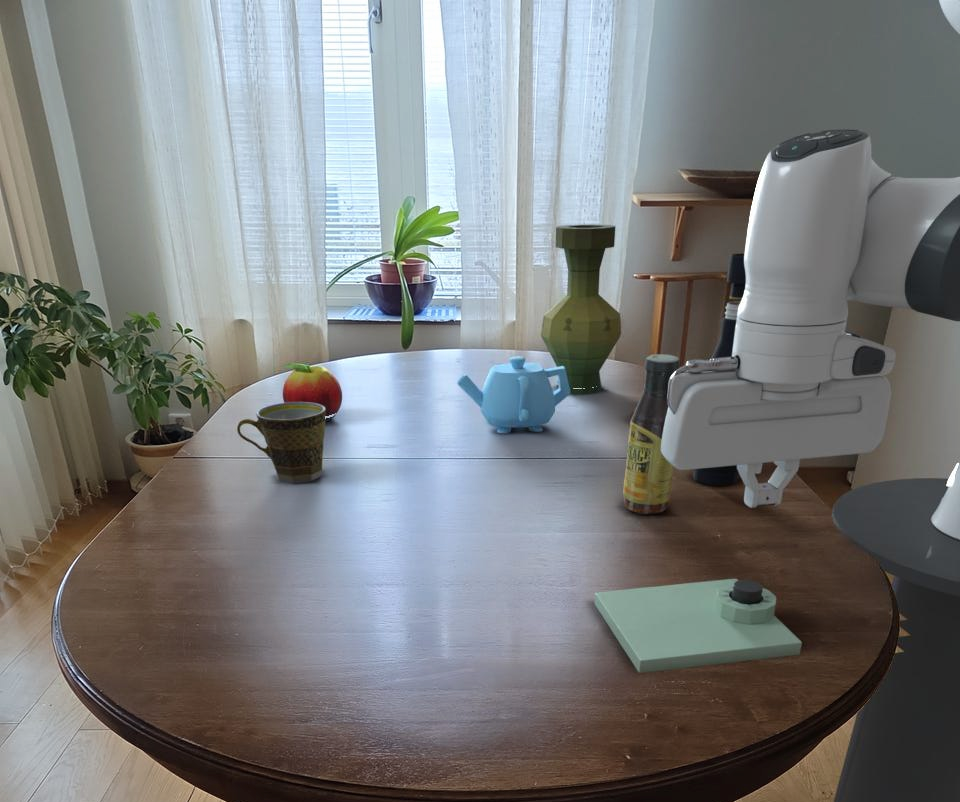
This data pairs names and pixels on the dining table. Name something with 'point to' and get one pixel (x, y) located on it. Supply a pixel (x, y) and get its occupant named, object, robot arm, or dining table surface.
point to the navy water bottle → (724, 349)
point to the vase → (582, 309)
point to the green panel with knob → (694, 626)
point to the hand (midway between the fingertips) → (761, 504)
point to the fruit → (313, 387)
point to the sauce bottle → (650, 442)
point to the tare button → (747, 592)
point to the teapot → (518, 394)
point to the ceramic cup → (292, 439)
